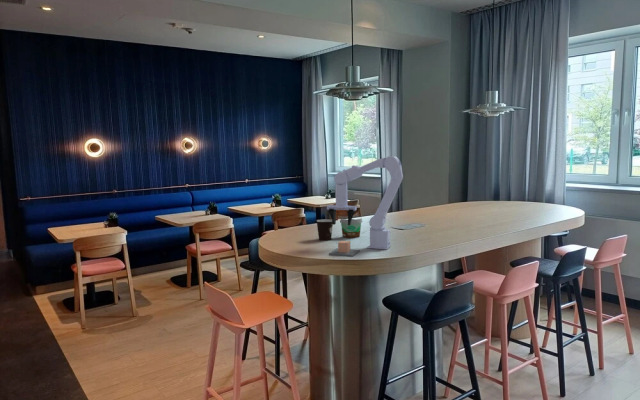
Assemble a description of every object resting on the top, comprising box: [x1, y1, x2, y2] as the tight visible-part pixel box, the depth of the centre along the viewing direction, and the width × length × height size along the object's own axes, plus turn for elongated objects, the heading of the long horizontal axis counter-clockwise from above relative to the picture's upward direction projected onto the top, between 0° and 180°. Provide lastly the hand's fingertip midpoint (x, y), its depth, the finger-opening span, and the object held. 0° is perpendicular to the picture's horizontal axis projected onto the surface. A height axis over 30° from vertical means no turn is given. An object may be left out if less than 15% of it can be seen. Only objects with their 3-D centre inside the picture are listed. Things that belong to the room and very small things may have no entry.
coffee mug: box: [316, 219, 333, 242], centre depth 245 cm, size 12×9×10 cm
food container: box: [339, 218, 363, 239], centre depth 250 cm, size 12×6×10 cm, turn 101°
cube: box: [337, 240, 351, 253], centre depth 212 cm, size 4×4×4 cm
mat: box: [328, 247, 361, 257], centre depth 212 cm, size 11×11×1 cm
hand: (341, 224), depth 228 cm, fingers open, 7 cm apart
